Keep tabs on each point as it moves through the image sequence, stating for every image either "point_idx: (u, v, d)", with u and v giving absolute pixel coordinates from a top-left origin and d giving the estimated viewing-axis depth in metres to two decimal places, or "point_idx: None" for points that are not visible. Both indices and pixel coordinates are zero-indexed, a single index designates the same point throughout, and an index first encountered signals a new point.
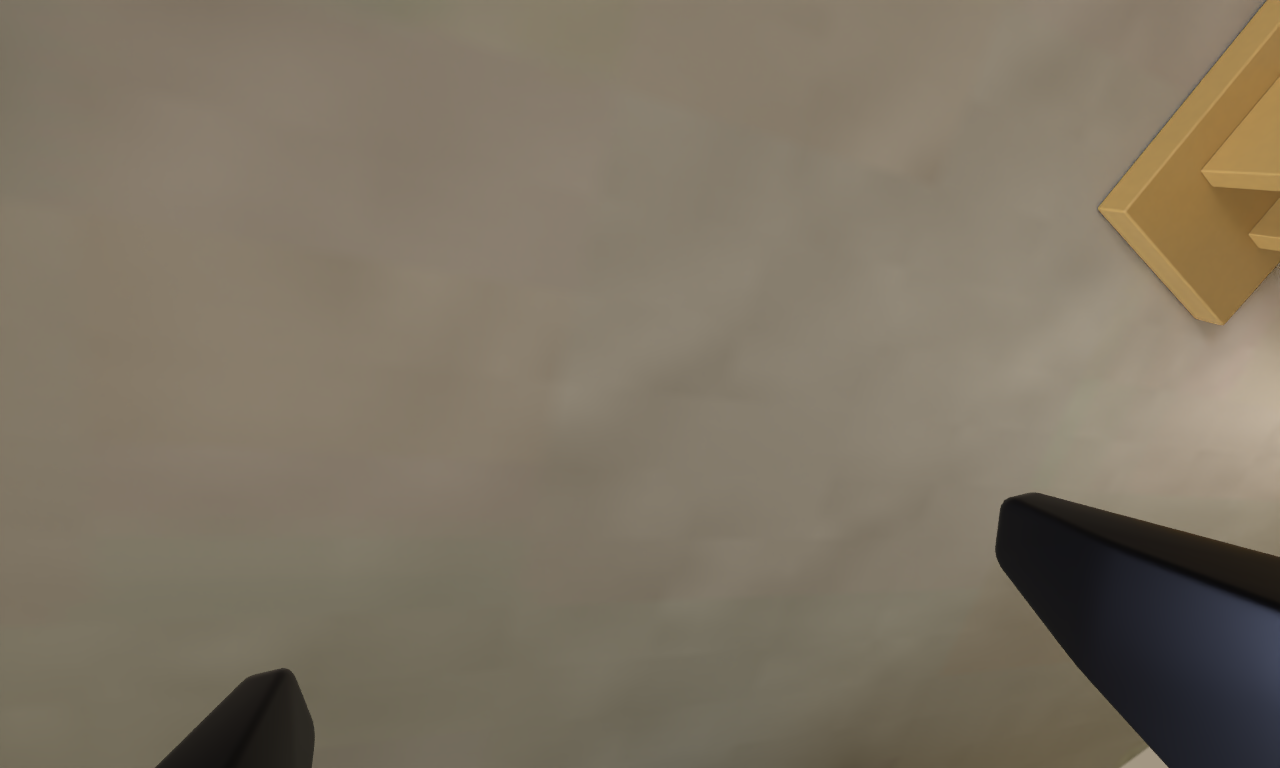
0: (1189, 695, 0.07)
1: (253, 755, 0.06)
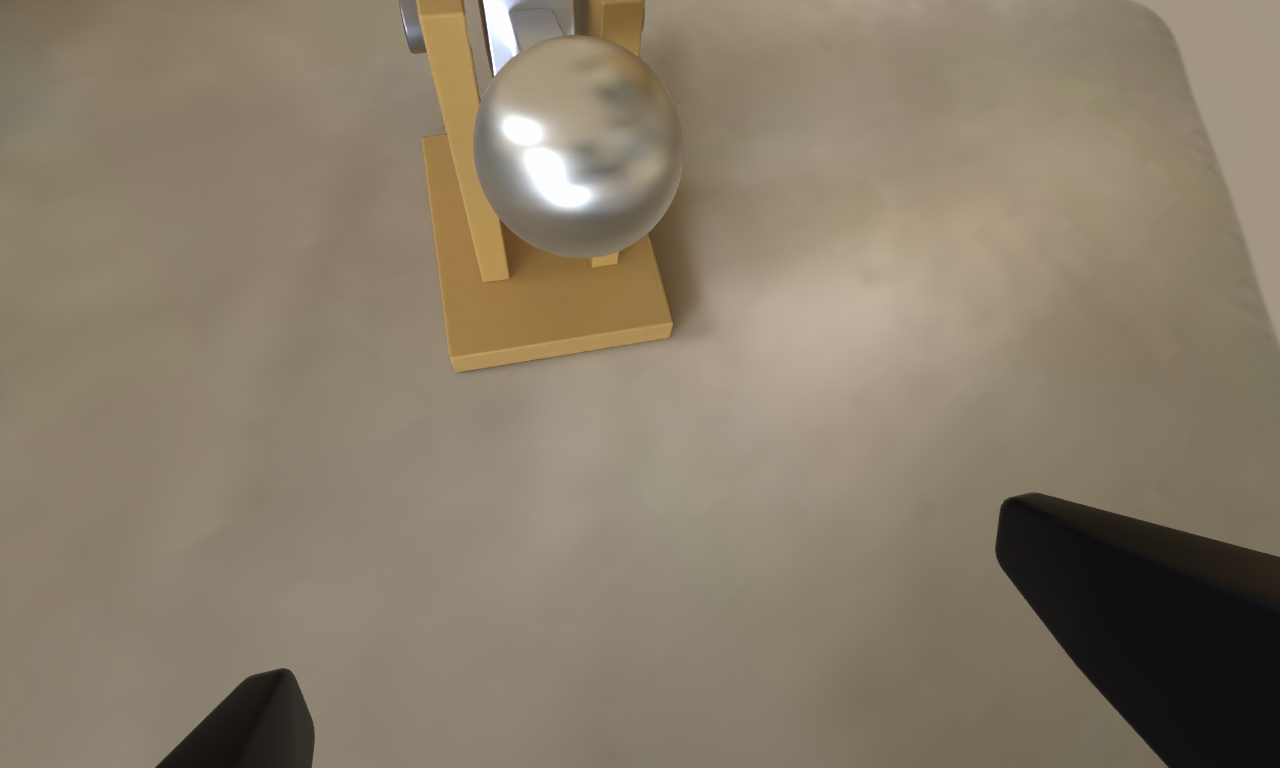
0: (1189, 695, 0.07)
1: (253, 755, 0.06)
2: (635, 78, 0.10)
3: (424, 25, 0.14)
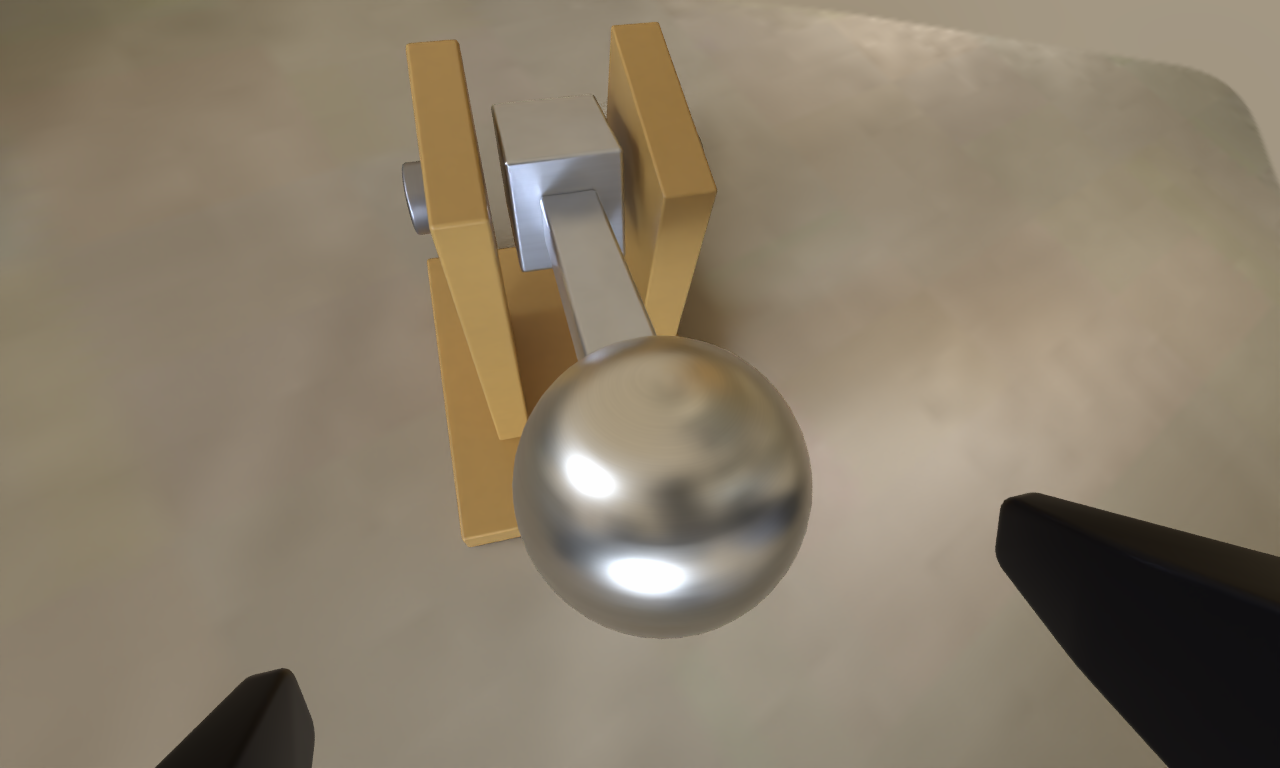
0: (1189, 695, 0.07)
1: (253, 755, 0.06)
2: (759, 435, 0.07)
3: (436, 236, 0.11)
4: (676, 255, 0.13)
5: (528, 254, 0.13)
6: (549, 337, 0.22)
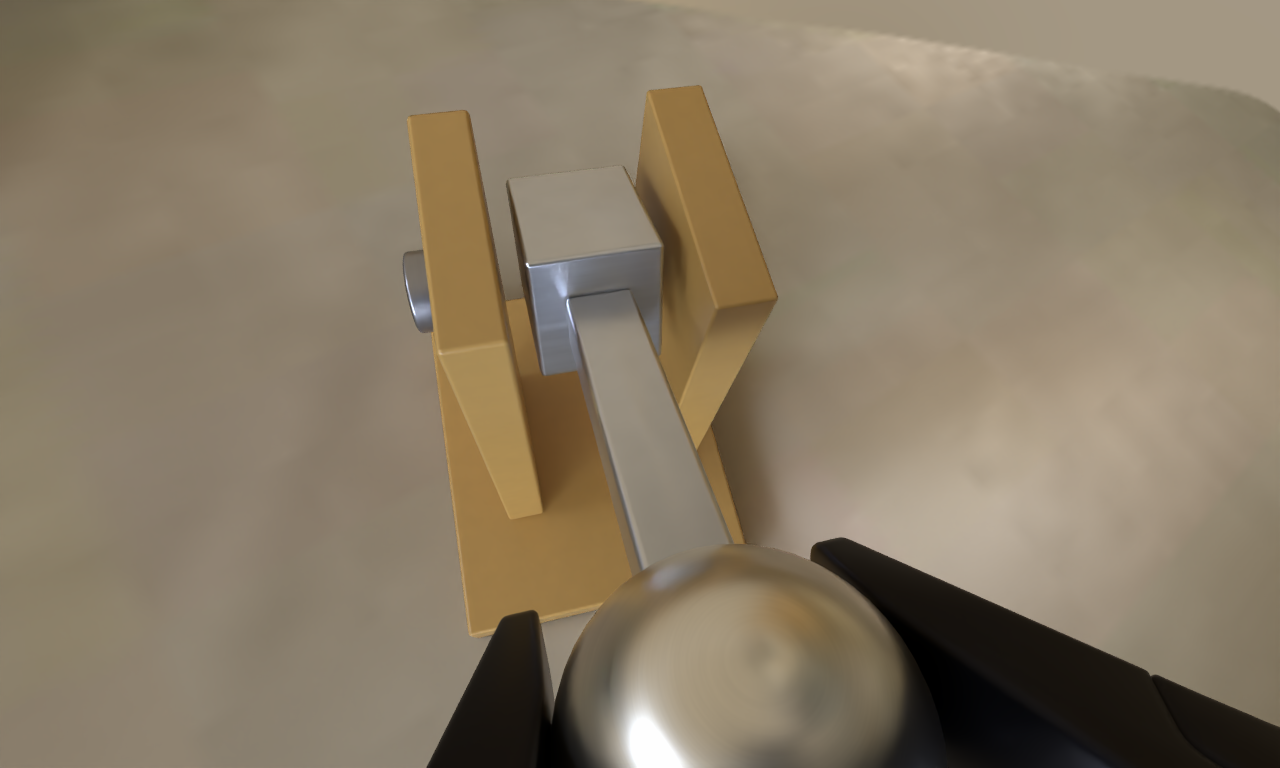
0: None
1: (545, 681, 0.06)
2: (897, 745, 0.05)
3: (445, 360, 0.09)
4: (722, 358, 0.11)
5: (550, 358, 0.11)
6: (562, 400, 0.20)
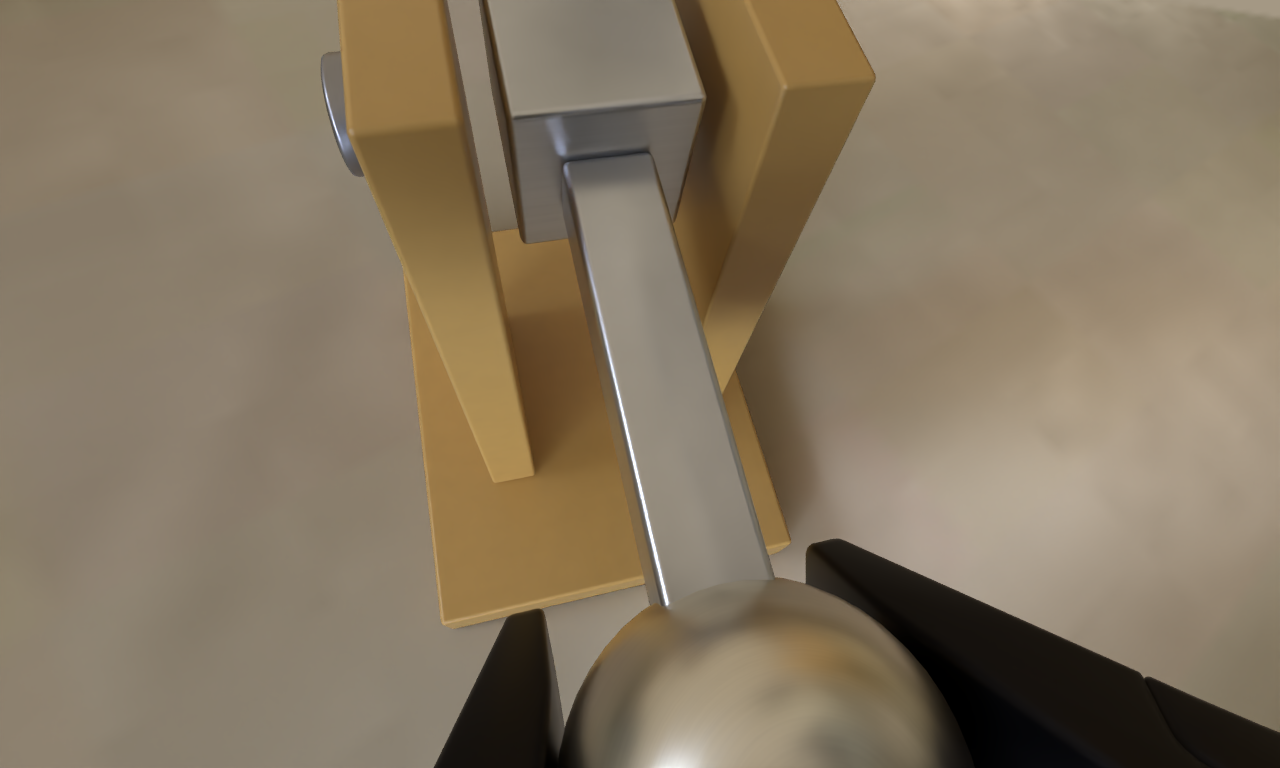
0: None
1: (551, 679, 0.06)
2: None
3: (362, 150, 0.06)
4: (778, 208, 0.08)
5: (534, 226, 0.09)
6: (559, 344, 0.17)
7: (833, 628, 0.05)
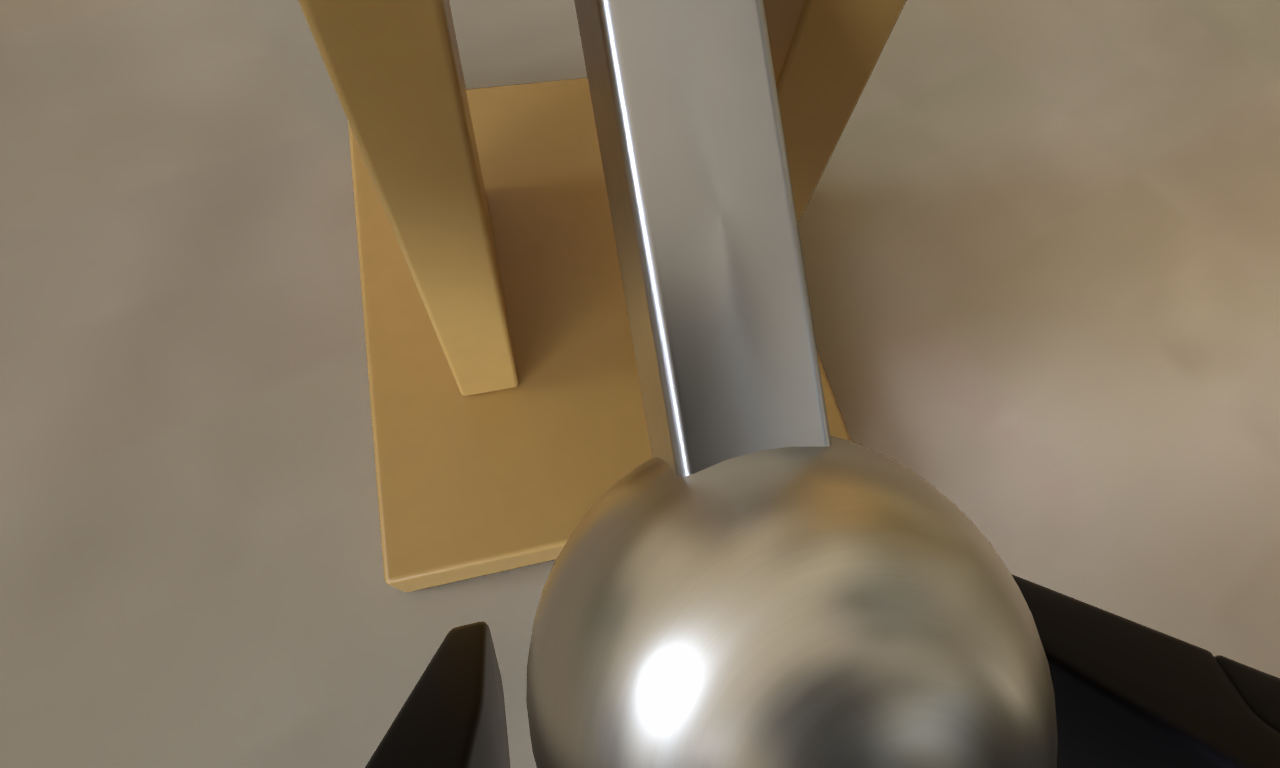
0: None
1: (486, 695, 0.06)
2: None
3: None
4: None
5: None
6: (552, 225, 0.13)
7: (922, 535, 0.04)
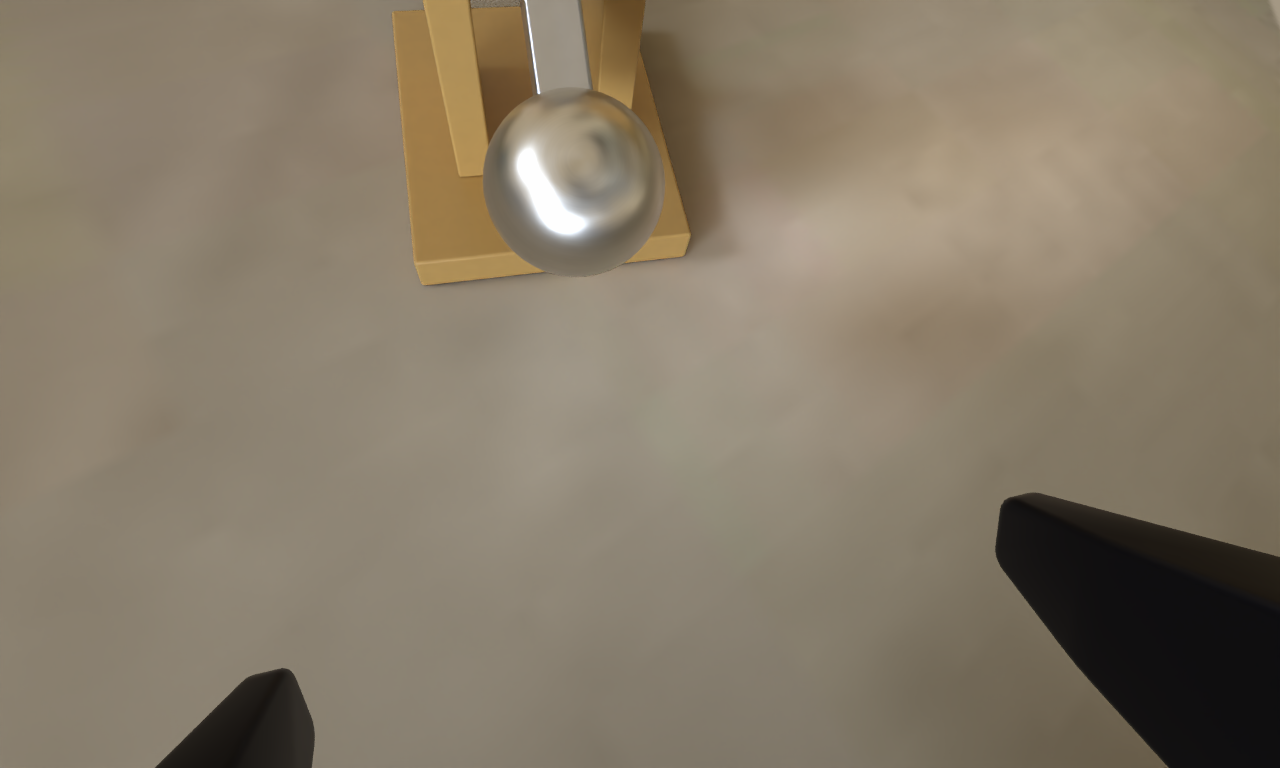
0: (1189, 695, 0.07)
1: (253, 755, 0.06)
2: (632, 201, 0.12)
3: None
4: None
5: None
6: (517, 90, 0.21)
7: (608, 101, 0.12)
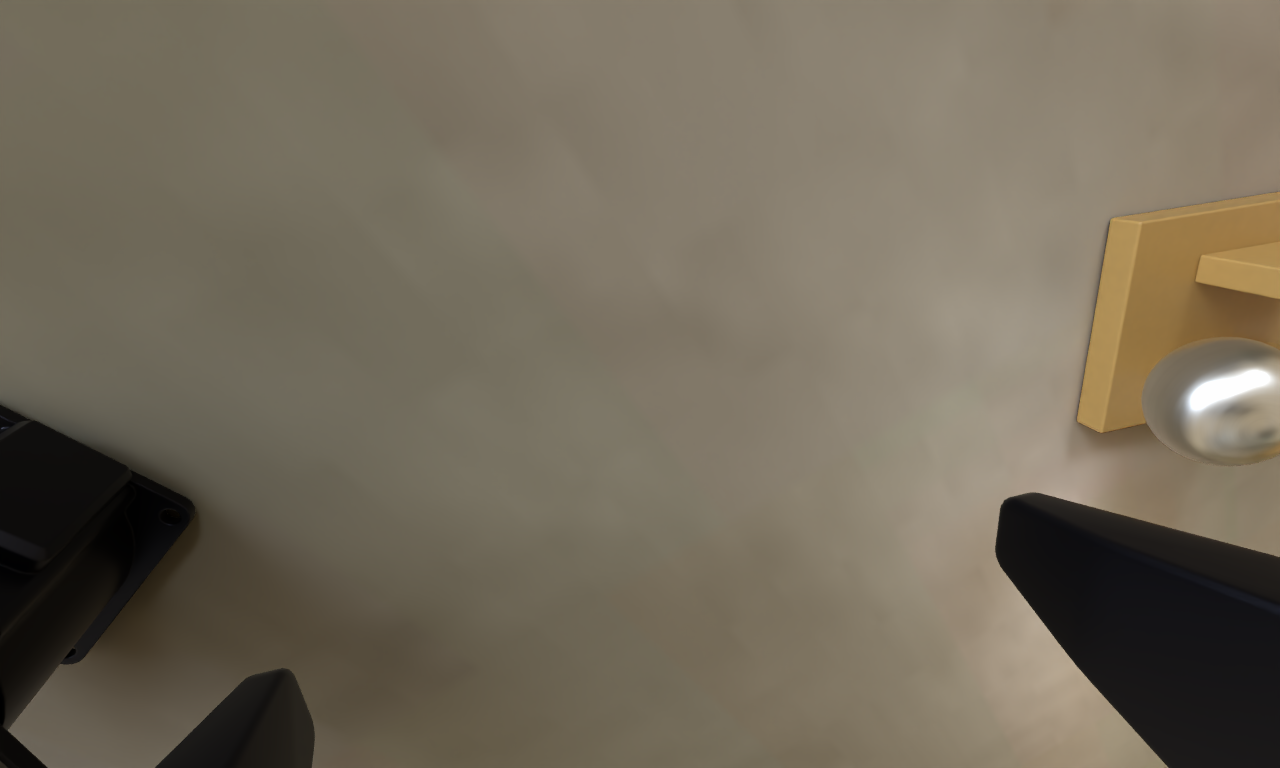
0: (1189, 695, 0.07)
1: (253, 755, 0.06)
2: (1214, 451, 0.17)
3: None
4: None
5: None
6: (1260, 299, 0.24)
7: None
